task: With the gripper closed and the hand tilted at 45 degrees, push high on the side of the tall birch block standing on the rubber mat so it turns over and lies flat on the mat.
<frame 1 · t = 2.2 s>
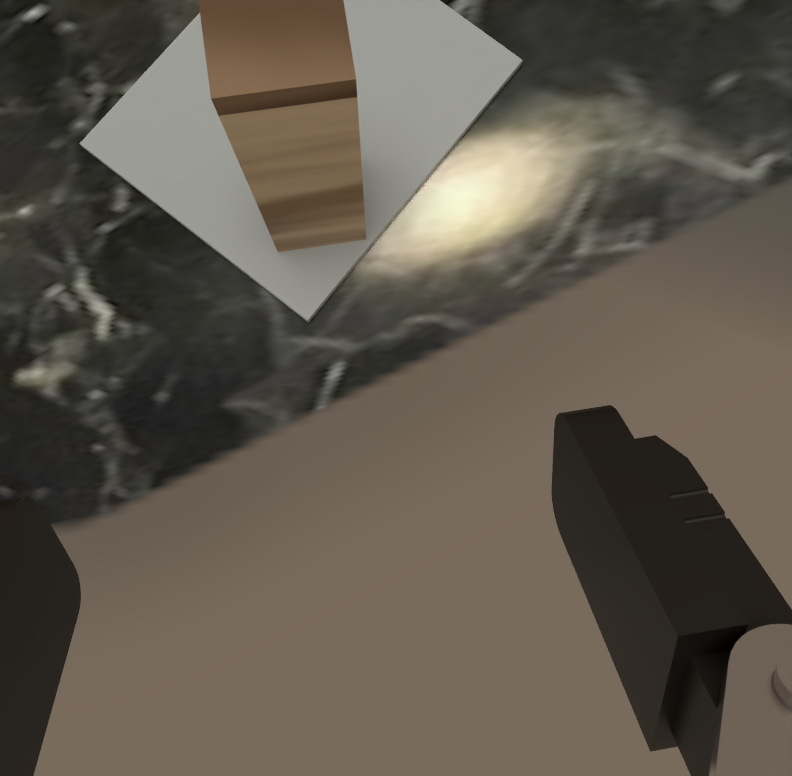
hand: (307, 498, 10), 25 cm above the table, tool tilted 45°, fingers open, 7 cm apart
rubber mat: (305, 106, 37), on the table
birch block: (315, 203, 36), resting on rubber mat
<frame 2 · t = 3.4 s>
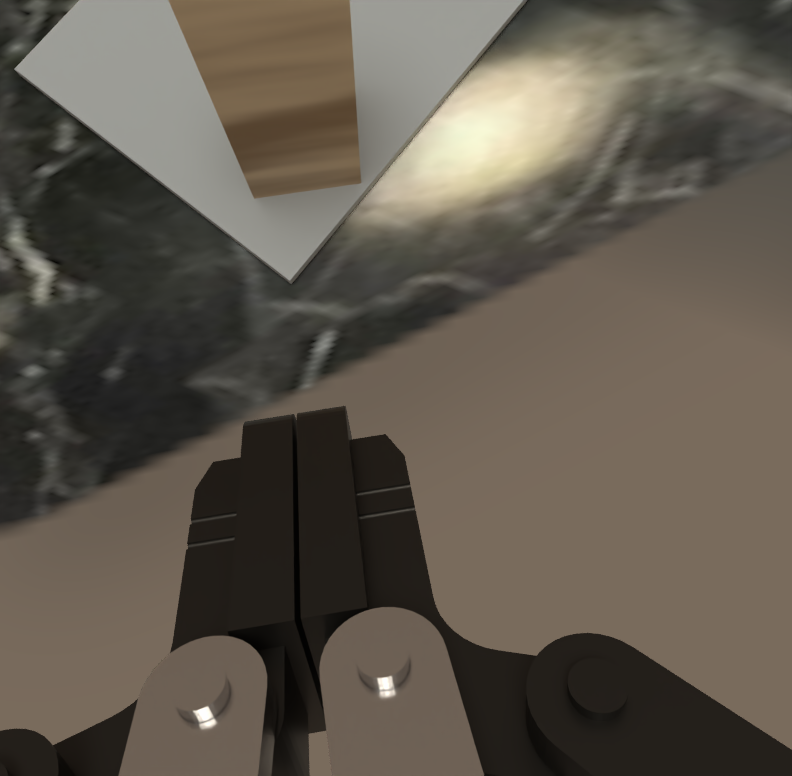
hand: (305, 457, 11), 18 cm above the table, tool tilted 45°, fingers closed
rubber mat: (287, 26, 31), on the table
birch block: (300, 140, 30), resting on rubber mat
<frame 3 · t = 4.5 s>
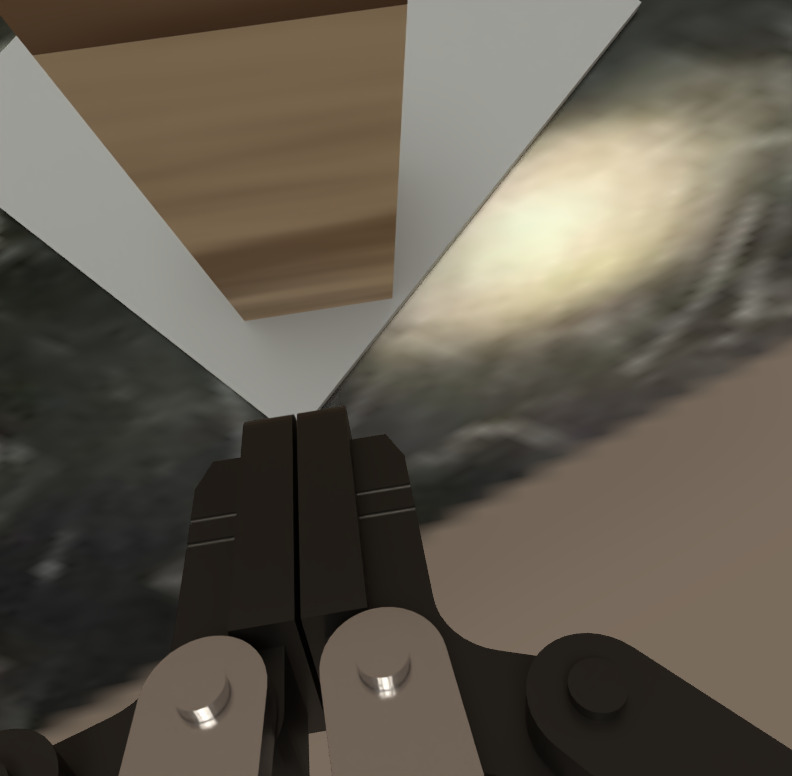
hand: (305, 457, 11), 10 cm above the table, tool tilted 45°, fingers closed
rubber mat: (290, 79, 23), on the table
birch block: (307, 239, 22), resting on rubber mat
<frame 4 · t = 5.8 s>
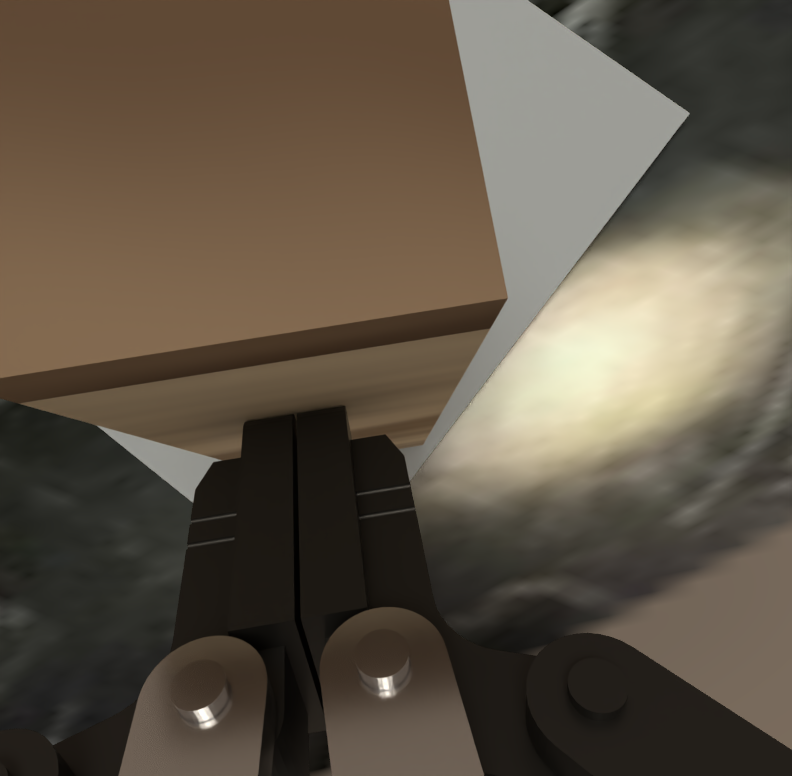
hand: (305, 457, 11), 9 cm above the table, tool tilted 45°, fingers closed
rubber mat: (310, 198, 21), on the table
birch block: (330, 379, 20), point 1 cm above the table, touching rubber mat
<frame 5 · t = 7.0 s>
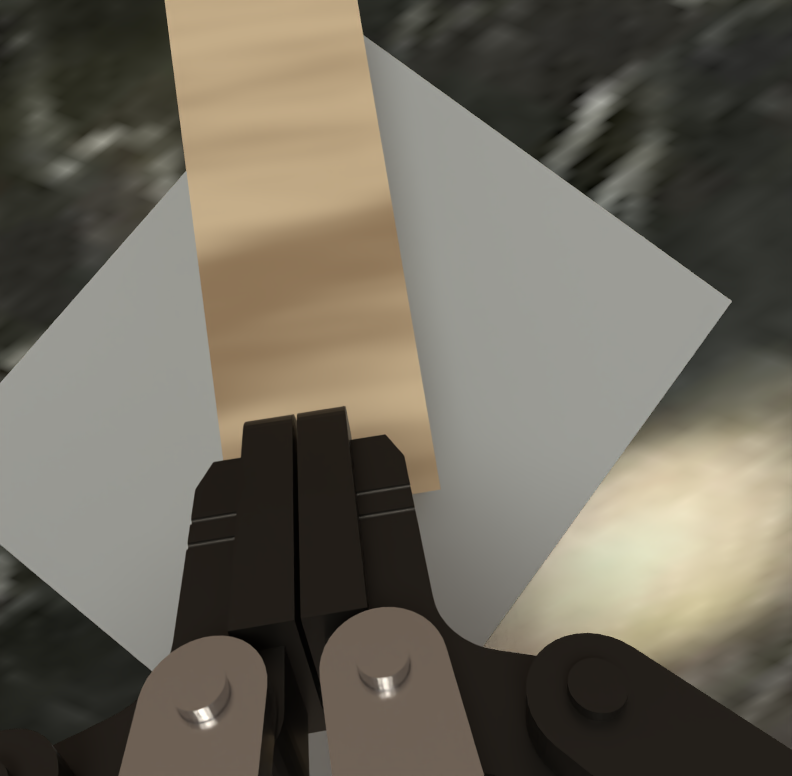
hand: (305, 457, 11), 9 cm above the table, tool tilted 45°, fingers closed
rubber mat: (337, 388, 20), on the table
birch block: (342, 505, 17), point 3 cm above the table, tilted 90°, touching rubber mat
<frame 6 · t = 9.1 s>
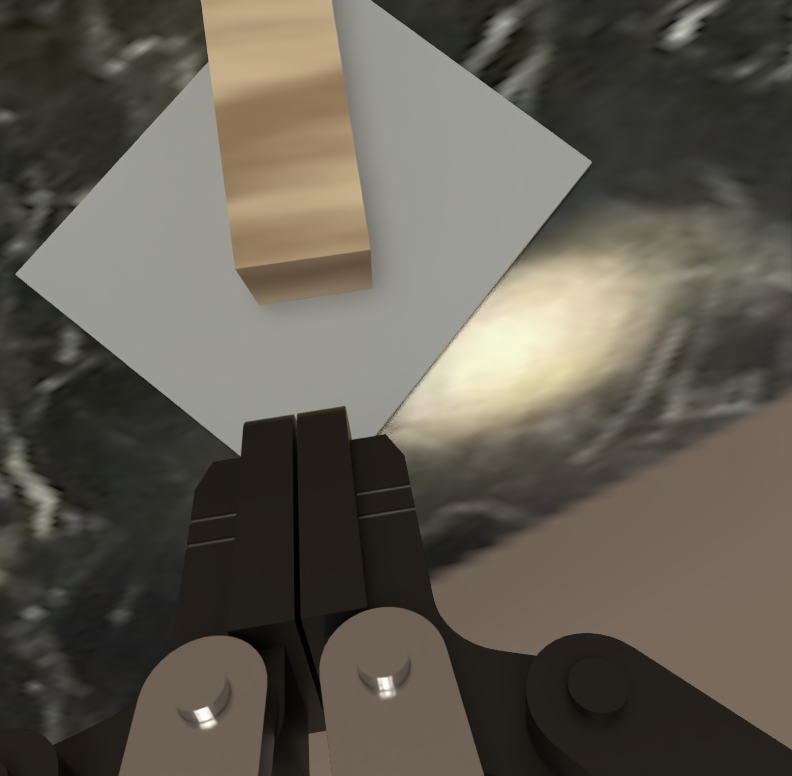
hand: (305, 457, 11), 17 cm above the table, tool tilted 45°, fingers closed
rubber mat: (310, 221, 29), on the table
birch block: (310, 279, 25), point 3 cm above the table, tilted 90°, touching rubber mat
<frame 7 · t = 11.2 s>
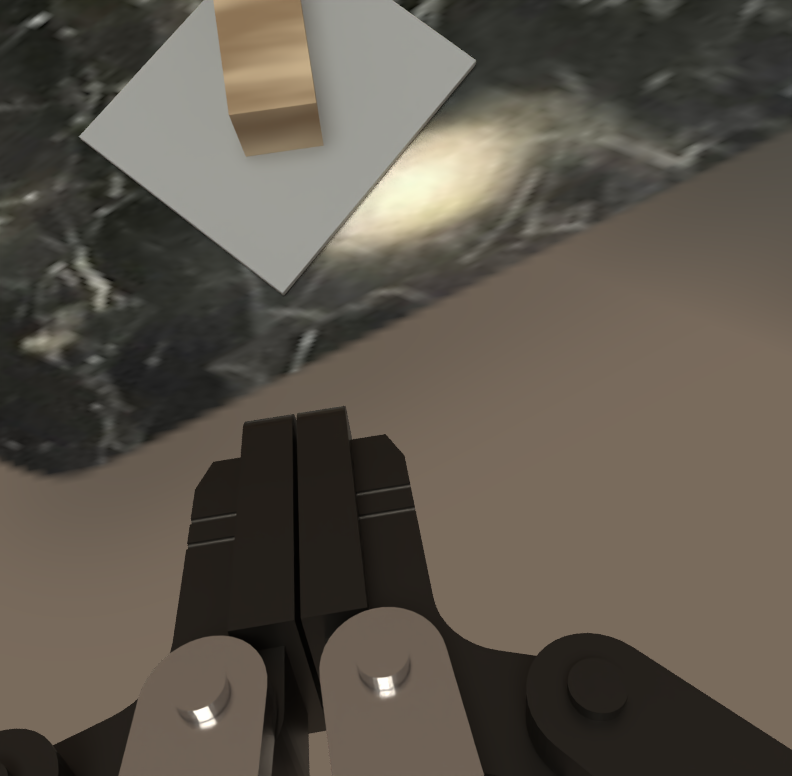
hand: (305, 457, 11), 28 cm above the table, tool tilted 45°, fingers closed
rubber mat: (281, 102, 41), on the table
birch block: (279, 131, 38), point 3 cm above the table, tilted 90°, touching rubber mat
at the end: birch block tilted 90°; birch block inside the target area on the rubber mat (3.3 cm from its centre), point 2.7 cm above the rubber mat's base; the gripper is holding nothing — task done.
